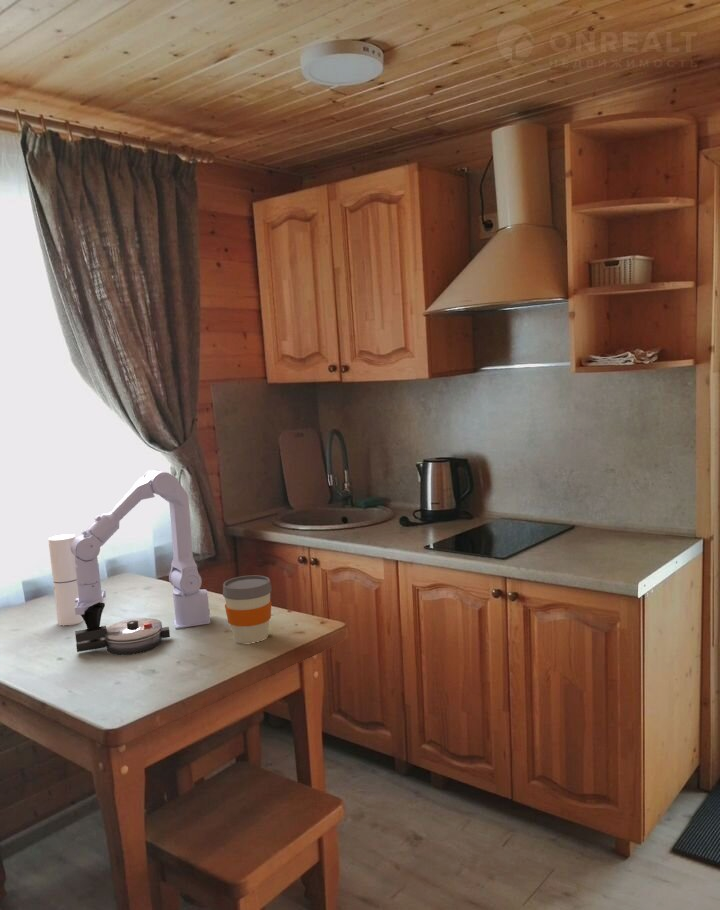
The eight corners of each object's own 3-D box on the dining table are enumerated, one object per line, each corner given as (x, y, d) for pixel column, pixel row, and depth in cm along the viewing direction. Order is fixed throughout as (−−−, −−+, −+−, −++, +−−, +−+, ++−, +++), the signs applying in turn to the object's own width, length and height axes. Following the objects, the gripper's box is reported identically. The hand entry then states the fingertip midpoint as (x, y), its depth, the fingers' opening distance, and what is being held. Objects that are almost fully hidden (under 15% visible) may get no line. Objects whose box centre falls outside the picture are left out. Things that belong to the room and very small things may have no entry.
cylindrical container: (68, 627, 215) (58, 541, 212) (52, 623, 219) (42, 539, 216) (89, 619, 221) (80, 535, 218) (73, 616, 225) (64, 533, 222)
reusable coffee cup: (250, 626, 206) (245, 573, 205) (285, 633, 199) (280, 578, 197) (216, 641, 196) (211, 585, 195) (251, 650, 189) (247, 591, 187)
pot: (168, 630, 207) (166, 618, 207) (172, 648, 193) (170, 635, 193) (78, 644, 200) (77, 632, 200) (76, 664, 187) (74, 650, 186)
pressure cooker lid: (157, 618, 207) (157, 609, 206) (166, 634, 193) (165, 625, 193) (74, 633, 198) (73, 624, 198) (77, 651, 185) (76, 641, 185)
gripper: (85, 574, 204) (90, 623, 206) (61, 591, 190) (66, 643, 191) (111, 573, 203) (116, 622, 205) (88, 589, 189) (94, 642, 191)
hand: (94, 632), depth 198 cm, fingers closed
